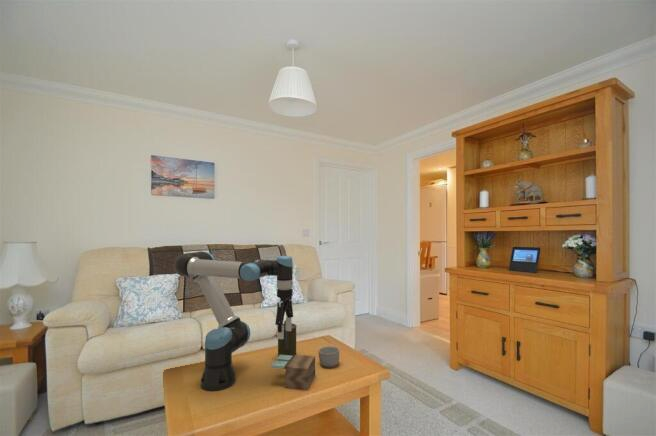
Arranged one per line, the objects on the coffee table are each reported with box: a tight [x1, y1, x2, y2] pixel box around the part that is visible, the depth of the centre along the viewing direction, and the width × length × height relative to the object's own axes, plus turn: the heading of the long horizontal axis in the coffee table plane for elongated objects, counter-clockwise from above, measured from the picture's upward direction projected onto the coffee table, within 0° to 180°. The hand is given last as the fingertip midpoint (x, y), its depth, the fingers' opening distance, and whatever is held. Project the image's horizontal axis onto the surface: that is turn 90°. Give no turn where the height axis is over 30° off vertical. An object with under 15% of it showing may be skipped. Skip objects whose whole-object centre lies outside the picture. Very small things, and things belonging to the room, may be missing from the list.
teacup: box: [318, 344, 340, 368], centre depth 166 cm, size 14×11×8 cm
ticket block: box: [285, 354, 316, 391], centre depth 147 cm, size 10×14×9 cm
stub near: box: [270, 360, 289, 370], centre depth 145 cm, size 7×5×1 cm
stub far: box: [275, 355, 294, 362], centre depth 152 cm, size 7×5×1 cm
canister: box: [277, 319, 297, 357], centre depth 173 cm, size 11×10×20 cm
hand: (284, 334), depth 152 cm, fingers open, 11 cm apart
